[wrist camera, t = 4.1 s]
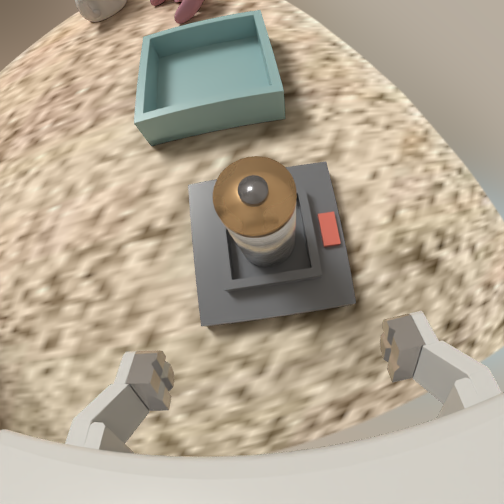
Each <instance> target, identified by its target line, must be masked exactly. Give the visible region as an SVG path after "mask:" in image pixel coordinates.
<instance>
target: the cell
mask: <svg viewBox="0 0 504 504" xmlns="http://www.w3.org/2000/svg"><path fill="white" fill-rule="evenodd" d="M296 199H297V192H296V185H295V182H294V179H293V177H292V175H291V174H290V172H289V171H288V170H287V169H286V168H285V167H284V166H283V165H282V164H280V163H279V162H277V161H275V160H273V159H270V158H266V157H258V156H255V157H247V158H243V159H240V160H238V161H236V162H234V163H232V164H231V165H229V166H228V167H227V168H226V169H224V170H223V172H222V173H221V174H220V175H219V177H218V179H217V181H216V183H215V185H214V189H213V205H214V208H215V211H216V213H217V215H218V217H219V218H220V220H221V221H222V223H223V224H224V226H225V227H226V229H227V230H228V232H229V233H230V235H231V236H232V238H233V239H234V241H235V242H236V244H237V245H238V247H239V248H240V250H241V252H242V253H243V255H244V256H245V257H246V258H247V259H248V260H249V261H250V262H251V263H253V264H255V265H257V266H261V267H273V266H277V265H279V264H281V263H283V262H284V261H285V260H286V259H287V258H288V257H289V256H290V255H291V253H292V251H293V249H294V245H295V230H296Z"/></svg>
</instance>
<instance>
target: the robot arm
mask: <svg viewBox="0 0 504 504" xmlns="http://www.w3.org/2000/svg"><path fill="white" fill-rule="evenodd" d="M382 329H383V331H384V332H383V334H382V335H381V338H380V346H381V352H382V356H383V359H384V360H385V361H387V362H388V367H387V370H388V372H389V375H390V378H391V381H392V382H396V381H401V380H405V379H409V378H413V379H414V380H415V381H416V382H417V383H419V384H420V385H421V386H422V387H423V388H425V389H426V390H427V391H428V392H429V393H431V394H432V395H433V396H434V397H435V398H436V399H438V400H439V401H440V402H441V403H442V404H444V405H443V407H442V409H441V411H440V413H439V415H438V416H437V418H436V419H434V420H431V421H428V422H425V423H422V424H418V425H415V426H412V427H408V428H405V429H401V430H397V431H394V432H390V433H386V434H383V435H378V436H374V437H370V438H366V439H361V440H356V441H352V442H346V443H341V444H335V445H330V446H324V447H318V448H311V449H304V450H296V451H289V452H279V453H269V454H257V455H241V456H213V457H189V456H161V455H145V454H134V452H133V451H132V450H131V449H130V448H129V447H128V446H126V445H125V443H126V441H127V440H128V439H129V438H130V436H131V435H132V434H133V432H134V431H135V430H136V429H137V427H138V426H139V425H140V423H141V422H142V421H143V420H144V418H145V417H146V416H147V414H148V413H149V411H160V410H169V407H170V402H171V395H170V393H169V391H170V390H171V389H172V388H173V385H174V372H173V369H172V367H171V365H170V364H169V363H168V362H166V361H165V358H166V356H165V354H164V353H163V351H135V352H126V353H125V354H124V355H123V357H122V360H121V363H120V366H119V369H118V372H117V375H116V378H115V381H114V384H110V385H109V386H108V387H107V388H106V389H105V390H104V391H103V392H101V393H100V394H99V395H98V396H97V397H96V398H95V399H94V400H93V401H92V402H91V403H90V404H89V405H87V406H86V407H85V408H84V409H83V410H82V411H81V412H80V413H79V414H78V415H77V416H76V417H75V418H74V419H73V421H72V424H71V427H70V430H69V433H68V436H67V439H66V442H65V444H64V443H59V442H54V441H50V440H45V439H41V438H37V437H33V436H29V435H25V434H22V433H18V432H15V431H11V430H7V429H3V430H0V504H504V392H501V390H500V388H499V387H498V385H497V383H496V381H495V379H494V377H493V375H492V373H491V371H490V369H489V368H488V367H486V366H484V365H483V364H481V363H480V362H478V361H476V360H475V359H473V358H471V357H470V356H468V355H466V354H465V353H463V352H461V351H459V350H458V349H456V348H454V347H453V346H451V345H449V344H448V343H446V342H444V341H439V340H438V338H437V336H436V335H435V333H434V331H433V329H432V327H431V326H430V324H429V322H428V320H427V318H426V317H425V315H424V313H423V312H422V311H418V312H414V313H410V314H405V315H401V316H397V317H393V318H388V319H384V320H383V323H382Z"/></svg>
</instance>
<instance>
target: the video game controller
mask: <svg viewBox="0 0 504 504" xmlns="http://www.w3.org/2000/svg"><path fill="white" fill-rule="evenodd" d="M164 1H165V0H150V2H151V4H152V5H154V6H157V5H160V4H162V3H163V2H164ZM174 1H175V2H182V3H181V4H180V6H179V7H178V9H177V11H176V13H175V21H176V22H177V23H179V24H182V23H185V22H186V21H188V20H189V19H191V18H192V17H193V16H194V15H195V14H196V12H197V11H198V9H199V8H200V6H201V5H202V3H203V1H204V0H174Z"/></svg>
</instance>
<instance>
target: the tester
mask: <svg viewBox="0 0 504 504" xmlns="http://www.w3.org/2000/svg"><path fill="white" fill-rule="evenodd" d="M285 168H286V169H287V170H288V171H289V172H290V174H291V175H292V177H293V179H294V182H295V185H296V192H297V199H296V230H295V245H294V249H293V251H292V253H291V255H290V256H289V257H288V258H287V259H286V260H285V261H284V262H283V263H281V264H279V265H277V266H273V267H261V266H257V265H255V264H253V263H251V262H250V261H249V260H248V259H247V258H246V257H245V256H244V255H243V253H242V252H241V250H240V248H239V247H238V245H237V244H236V242H235V241H234V239H233V238H232V236H231V235H230V233H229V232H228V230H227V229H226V227H225V226H224V224H223V223H222V221H221V220H220V218H219V217H218V215H217V213H216V211H215V208H214V205H213V189H214V185H215V183H216V181H217V179H216V180H210V181H205V182H200V183H195V184H190V185H188V189H189V204H190V217H191V230H192V242H193V253H194V264H195V274H196V284H197V293H198V302H199V311H200V320H201V326H214V325H222V324H231V323H238V322H246V321H253V320H261V319H268V318H275V317H281V316H288V315H294V314H301V313H307V312H313V311H319V310H325V309H331V308H336V307H342V306H347V305H353V304H355V303H356V300H355V294H354V288H353V282H352V277H351V271H350V266H349V261H348V255H347V250H346V245H345V240H344V236H343V231H342V226H341V222H340V217H339V213H338V208H337V204H336V200H335V195H334V191H333V187H332V183H331V179H330V175H329V171H328V167H327V163H326V162H320V163H313V164H306V165H299V166H292V167H285Z"/></svg>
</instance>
